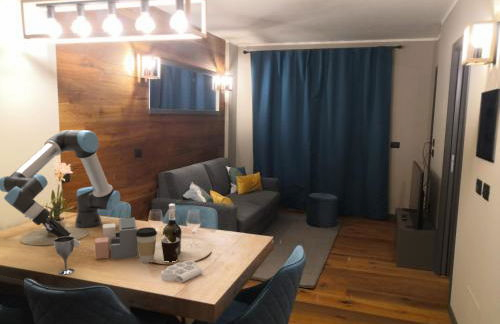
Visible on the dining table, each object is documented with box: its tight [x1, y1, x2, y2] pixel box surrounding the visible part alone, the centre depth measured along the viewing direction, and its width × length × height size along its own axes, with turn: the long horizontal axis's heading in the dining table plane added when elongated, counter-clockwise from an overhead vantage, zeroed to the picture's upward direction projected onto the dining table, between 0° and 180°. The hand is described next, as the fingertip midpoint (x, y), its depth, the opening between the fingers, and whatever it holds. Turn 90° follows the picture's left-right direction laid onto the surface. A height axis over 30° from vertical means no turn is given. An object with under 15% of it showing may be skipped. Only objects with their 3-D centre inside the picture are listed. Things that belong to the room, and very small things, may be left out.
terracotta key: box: [94, 237, 110, 260], centre depth 196 cm, size 7×6×8 cm
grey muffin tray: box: [160, 260, 204, 283], centre depth 176 cm, size 3×18×15 cm
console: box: [110, 216, 139, 260], centre depth 203 cm, size 22×12×15 cm, turn 18°
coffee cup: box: [136, 226, 158, 264], centre depth 190 cm, size 10×10×15 cm
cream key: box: [102, 223, 117, 252], centre depth 206 cm, size 7×6×12 cm
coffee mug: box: [160, 237, 180, 262], centre depth 193 cm, size 12×9×10 cm
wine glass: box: [53, 235, 76, 276], centre depth 177 cm, size 8×8×15 cm
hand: (78, 245), depth 192 cm, fingers closed
